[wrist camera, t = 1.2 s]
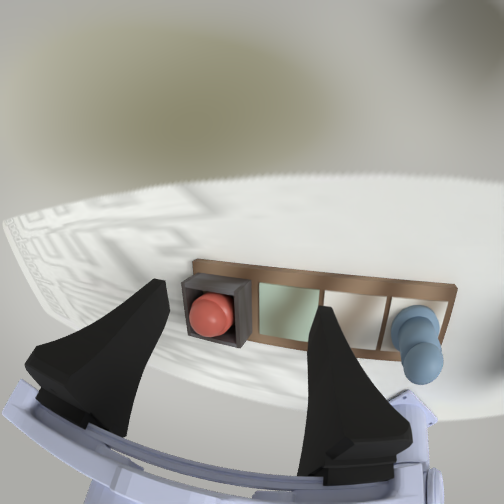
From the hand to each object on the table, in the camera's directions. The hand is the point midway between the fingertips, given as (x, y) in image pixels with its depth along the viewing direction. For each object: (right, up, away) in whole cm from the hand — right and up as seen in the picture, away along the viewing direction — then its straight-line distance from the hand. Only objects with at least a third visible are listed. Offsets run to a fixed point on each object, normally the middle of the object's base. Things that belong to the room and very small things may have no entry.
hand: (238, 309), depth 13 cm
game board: (+7, -3, +12) cm, 15 cm away
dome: (-3, -3, +14) cm, 14 cm away
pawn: (+15, -4, +8) cm, 18 cm away
